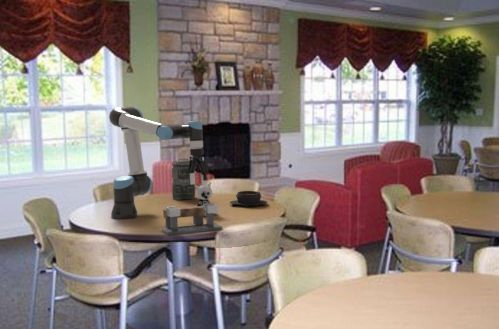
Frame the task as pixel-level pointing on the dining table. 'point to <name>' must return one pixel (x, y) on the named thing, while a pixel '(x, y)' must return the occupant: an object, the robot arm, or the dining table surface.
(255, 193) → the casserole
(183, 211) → the rail
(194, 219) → the rests
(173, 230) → the bracket stand
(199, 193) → the decorative figurine
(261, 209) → the dining table surface
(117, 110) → the robot arm
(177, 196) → the canister
